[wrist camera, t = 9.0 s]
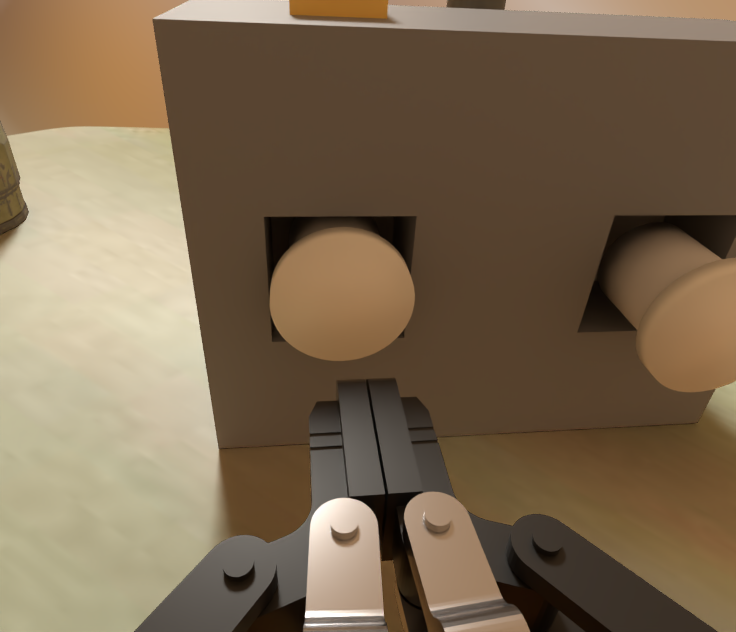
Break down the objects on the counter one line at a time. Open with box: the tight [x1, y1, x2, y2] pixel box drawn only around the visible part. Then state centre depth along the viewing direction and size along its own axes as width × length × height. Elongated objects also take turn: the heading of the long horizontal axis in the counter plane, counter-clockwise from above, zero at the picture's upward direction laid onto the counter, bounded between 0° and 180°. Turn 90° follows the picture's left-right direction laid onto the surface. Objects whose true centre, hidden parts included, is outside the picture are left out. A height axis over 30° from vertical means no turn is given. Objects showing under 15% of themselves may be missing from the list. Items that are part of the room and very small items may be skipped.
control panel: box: [153, 0, 736, 448], centre depth 23 cm, size 8×22×17 cm, turn 97°
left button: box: [270, 216, 415, 361], centre depth 20 cm, size 5×5×5 cm
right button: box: [598, 222, 736, 392], centre depth 19 cm, size 5×5×5 cm
